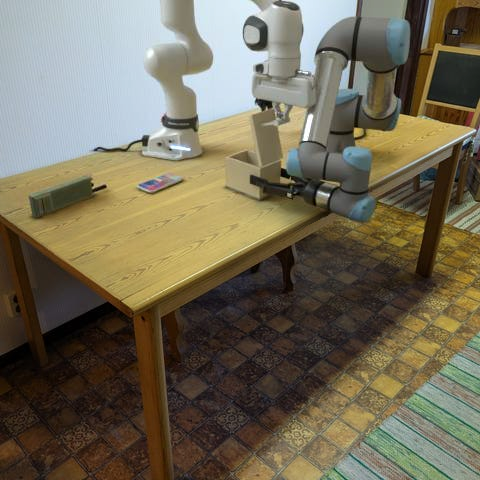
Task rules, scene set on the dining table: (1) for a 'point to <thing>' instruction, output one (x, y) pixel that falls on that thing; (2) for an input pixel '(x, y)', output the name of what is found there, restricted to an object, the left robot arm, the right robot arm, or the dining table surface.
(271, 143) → the lid
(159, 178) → the smartphone
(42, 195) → the handheld radio
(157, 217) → the dining table surface
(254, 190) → the chest
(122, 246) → the dining table surface
